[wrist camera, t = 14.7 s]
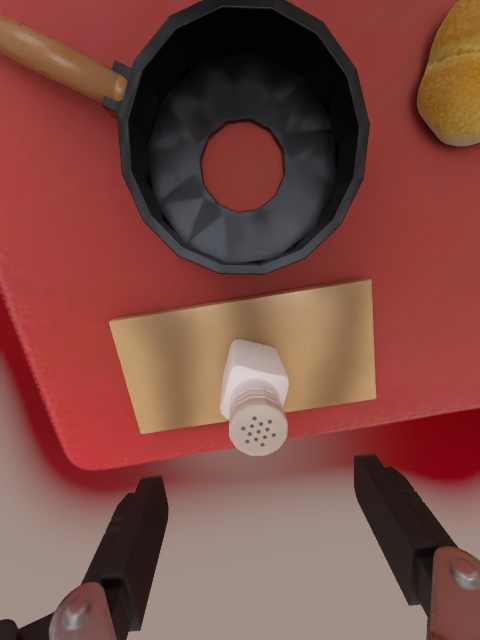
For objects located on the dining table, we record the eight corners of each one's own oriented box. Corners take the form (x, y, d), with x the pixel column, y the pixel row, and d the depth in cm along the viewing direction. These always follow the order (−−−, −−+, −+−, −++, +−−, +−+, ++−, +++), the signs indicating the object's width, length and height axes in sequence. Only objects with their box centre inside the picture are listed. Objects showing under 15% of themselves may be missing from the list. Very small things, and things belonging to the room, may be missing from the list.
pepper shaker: (222, 377, 24) (213, 455, 15) (233, 335, 23) (231, 390, 14) (265, 387, 24) (283, 469, 15) (278, 346, 23) (305, 407, 14)
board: (145, 424, 27) (140, 434, 25) (116, 317, 24) (108, 321, 23) (368, 390, 26) (376, 399, 25) (363, 277, 23) (371, 279, 22)
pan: (379, 110, 20) (415, 74, 16) (288, 299, 24) (299, 308, 20) (18, -88, 17) (-48, -192, 13) (-28, 160, 21) (-92, 137, 17)
